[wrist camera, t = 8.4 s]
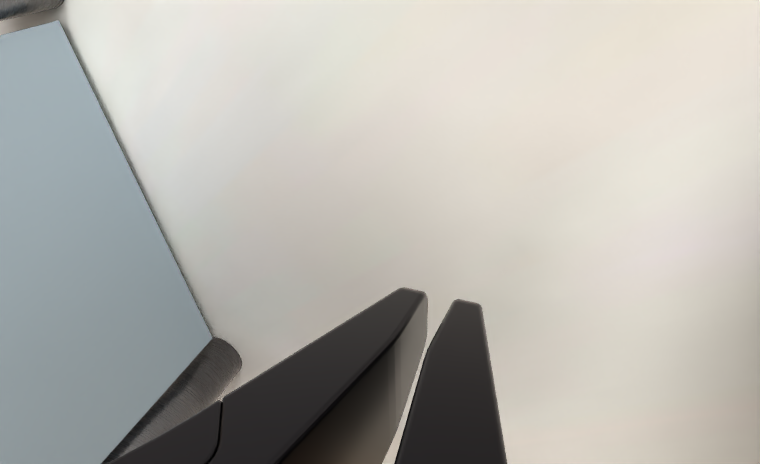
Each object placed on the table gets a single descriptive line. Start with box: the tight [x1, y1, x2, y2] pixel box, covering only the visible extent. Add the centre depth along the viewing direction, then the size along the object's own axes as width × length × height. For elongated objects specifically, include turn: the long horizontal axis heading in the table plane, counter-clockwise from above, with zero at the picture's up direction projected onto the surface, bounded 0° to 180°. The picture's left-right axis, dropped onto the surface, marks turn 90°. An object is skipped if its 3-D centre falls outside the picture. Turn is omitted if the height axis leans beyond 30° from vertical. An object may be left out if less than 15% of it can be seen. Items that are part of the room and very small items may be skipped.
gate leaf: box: [0, 20, 212, 464], centre depth 22 cm, size 18×2×14 cm, turn 15°
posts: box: [0, 0, 242, 464], centre depth 22 cm, size 24×3×16 cm, turn 14°
